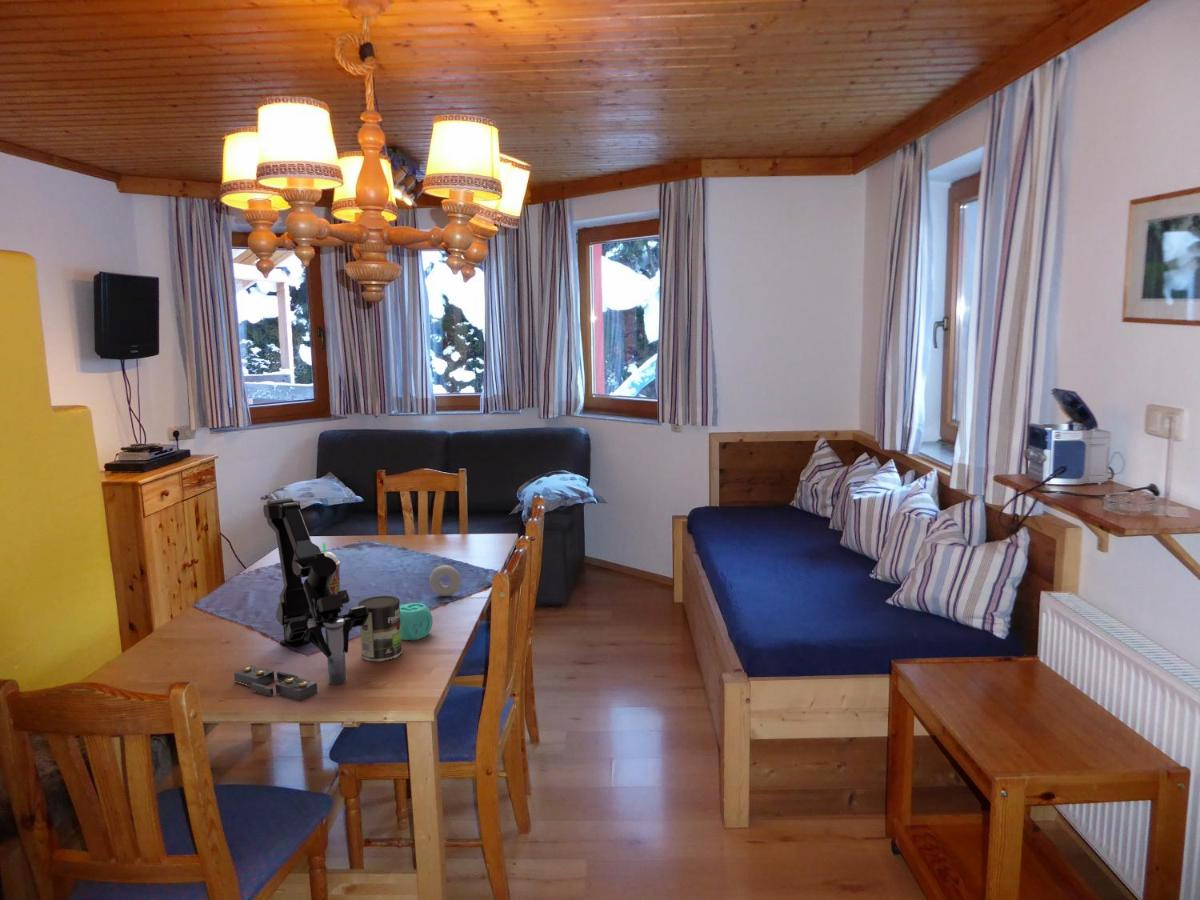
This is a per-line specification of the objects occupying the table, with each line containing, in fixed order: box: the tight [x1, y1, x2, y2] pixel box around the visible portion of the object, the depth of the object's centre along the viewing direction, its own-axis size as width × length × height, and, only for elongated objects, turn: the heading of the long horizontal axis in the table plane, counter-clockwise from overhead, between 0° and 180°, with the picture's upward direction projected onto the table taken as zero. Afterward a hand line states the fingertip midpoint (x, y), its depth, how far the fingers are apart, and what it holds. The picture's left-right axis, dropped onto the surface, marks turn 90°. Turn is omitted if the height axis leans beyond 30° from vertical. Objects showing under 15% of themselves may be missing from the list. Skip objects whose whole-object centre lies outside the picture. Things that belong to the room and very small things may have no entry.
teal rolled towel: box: [399, 602, 434, 641], centre depth 231 cm, size 8×8×8 cm
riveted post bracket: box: [233, 664, 318, 702], centre depth 199 cm, size 22×8×3 cm, turn 61°
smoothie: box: [321, 542, 341, 595], centre depth 256 cm, size 8×8×20 cm
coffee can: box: [357, 595, 403, 662], centre depth 217 cm, size 10×10×14 cm
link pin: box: [323, 618, 347, 685], centre depth 200 cm, size 5×5×15 cm
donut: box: [429, 564, 462, 597], centre depth 264 cm, size 10×4×10 cm, turn 83°
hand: (337, 654), depth 199 cm, fingers closed on link pin, 4 cm apart
